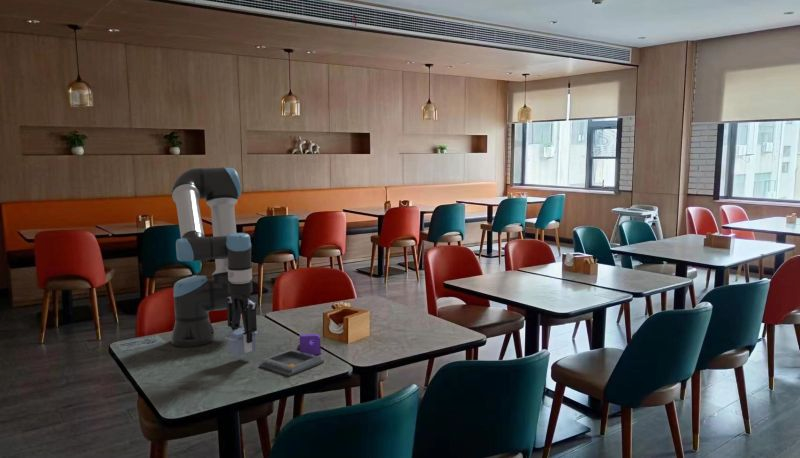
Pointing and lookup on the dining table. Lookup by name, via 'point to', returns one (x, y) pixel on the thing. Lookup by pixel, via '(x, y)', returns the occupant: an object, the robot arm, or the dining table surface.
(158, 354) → the dining table surface
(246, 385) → the dining table surface
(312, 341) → the purple block
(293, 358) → the tray
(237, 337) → the servo
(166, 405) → the dining table surface
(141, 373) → the dining table surface
